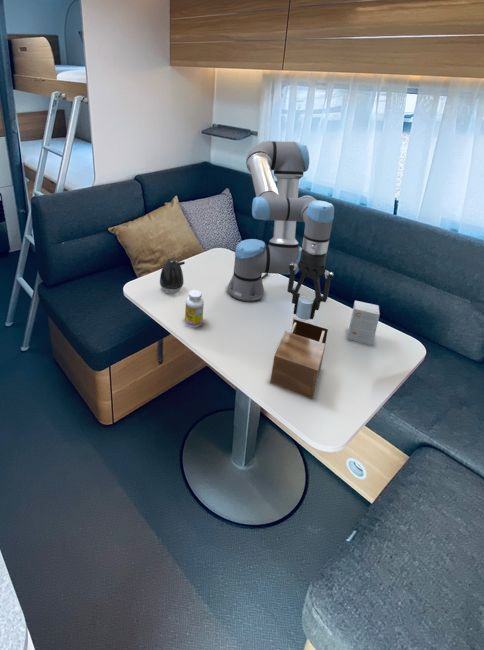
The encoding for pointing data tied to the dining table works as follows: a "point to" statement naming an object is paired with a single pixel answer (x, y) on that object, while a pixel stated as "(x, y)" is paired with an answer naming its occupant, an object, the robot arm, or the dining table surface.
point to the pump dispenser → (171, 276)
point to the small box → (363, 322)
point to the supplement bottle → (194, 309)
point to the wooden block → (297, 364)
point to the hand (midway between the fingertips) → (303, 314)
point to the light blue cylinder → (304, 307)
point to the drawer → (309, 330)
